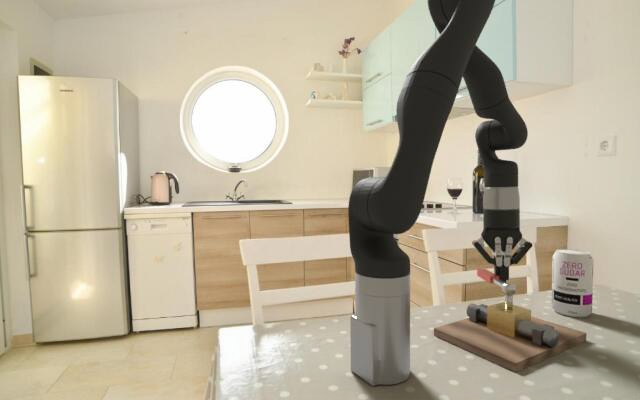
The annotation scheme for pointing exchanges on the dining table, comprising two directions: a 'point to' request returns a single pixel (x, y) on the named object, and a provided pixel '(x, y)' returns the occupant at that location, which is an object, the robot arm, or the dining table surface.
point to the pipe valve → (513, 322)
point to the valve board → (506, 343)
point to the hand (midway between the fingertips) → (501, 281)
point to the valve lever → (496, 281)
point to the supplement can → (572, 282)
